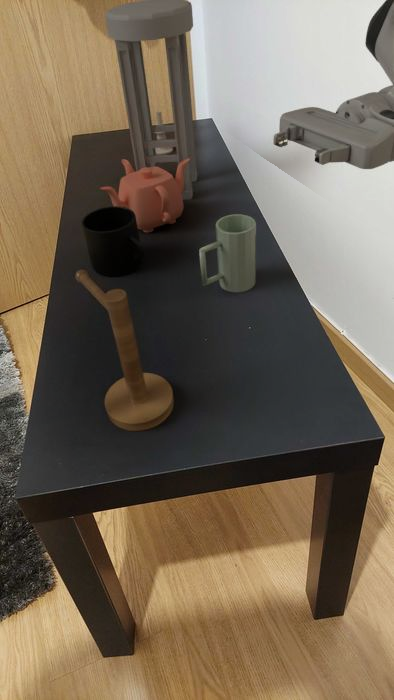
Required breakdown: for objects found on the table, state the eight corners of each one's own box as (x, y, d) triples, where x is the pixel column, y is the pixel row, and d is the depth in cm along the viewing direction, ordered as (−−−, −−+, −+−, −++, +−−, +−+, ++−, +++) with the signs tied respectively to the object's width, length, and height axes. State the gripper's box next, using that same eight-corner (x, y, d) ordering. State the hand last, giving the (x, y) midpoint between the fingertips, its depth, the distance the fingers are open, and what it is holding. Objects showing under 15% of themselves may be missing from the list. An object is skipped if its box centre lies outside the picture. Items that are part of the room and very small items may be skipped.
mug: (128, 287, 88) (119, 241, 82) (81, 267, 94) (70, 223, 88) (163, 262, 93) (157, 217, 87) (117, 244, 99) (108, 201, 93)
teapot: (109, 237, 102) (98, 185, 94) (130, 204, 112) (121, 154, 105) (180, 239, 99) (174, 186, 91) (194, 205, 109) (190, 154, 102)
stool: (199, 203, 109) (184, 10, 86) (129, 204, 112) (96, 17, 88) (207, 173, 121) (195, -5, 97) (143, 175, 123) (116, 1, 99)
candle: (152, 149, 135) (146, 107, 128) (171, 146, 135) (166, 104, 128) (154, 156, 131) (148, 114, 124) (174, 153, 131) (169, 111, 124)
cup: (240, 267, 90) (239, 210, 83) (263, 283, 86) (263, 224, 79) (193, 289, 86) (187, 231, 79) (214, 306, 82) (210, 247, 75)
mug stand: (186, 408, 67) (171, 298, 55) (126, 442, 63) (96, 332, 51) (129, 345, 77) (106, 240, 65) (75, 372, 73) (39, 266, 61)
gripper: (316, 92, 88) (254, 112, 83) (414, 121, 75) (347, 147, 70) (313, 129, 93) (254, 150, 87) (405, 163, 80) (342, 190, 74)
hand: (296, 149), depth 79 cm, fingers open, 8 cm apart
